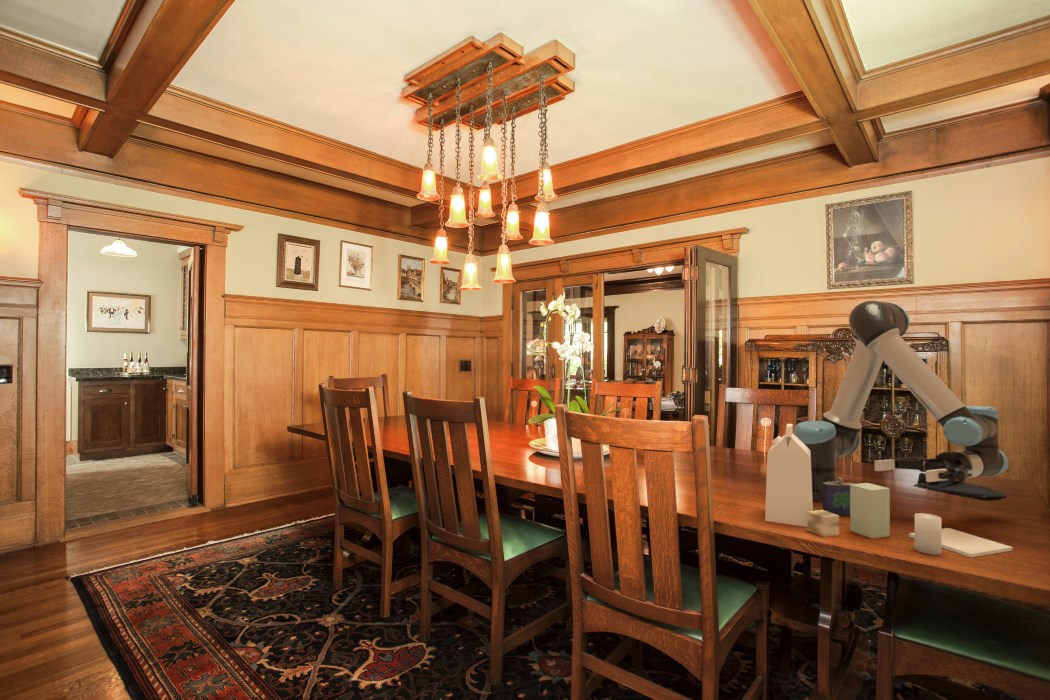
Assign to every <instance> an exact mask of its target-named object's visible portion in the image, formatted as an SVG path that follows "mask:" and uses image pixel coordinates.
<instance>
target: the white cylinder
mask: <svg viewBox="0 0 1050 700" xmlns="http://www.w3.org/2000/svg"><path fill="white" fill-rule="evenodd" d="M941 529H942V517H941V516H938V515H934V514H931V513H922V512H920V513H919V512H918V513H914V533H915V539H914V550H915V551H917V552H919V553H923V554H925V555H935V556H936V555H937V556H938V555H941V554H942V549H943V548H942V531H941Z"/></svg>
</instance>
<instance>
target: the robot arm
mask: <svg viewBox="0 0 1050 700" xmlns="http://www.w3.org/2000/svg"><path fill="white" fill-rule="evenodd" d="M910 321H911V320H910V317H909V314H908V313H907V311H906V310H905V309H904V308H903V307H902V306H901V305H898V304H896V303H892V302H889V301H888V302H887V301H878V300H867V301H863V302H860V303H859V304H857V305H856V306H854V308H853V309H852V310H851V311H850V314H849V316H848V324H849V327H850V330H851V331H852V333H853V334H854V335H853V336H852V339H853V341H854V343H855V347H854V350H853V352H852V355H851V357H850V359H849V362H848V365H847V367H846V370H845V372H844V374H843V378H842V379H841V382H840V385H839V388H838V390H837V392H836V395H835V398H834V400H833V403H832V406H831V407H830V410H829V411H826V412H823V413H822V416H821V419H820V420H809V421H808V420H807V421H802V422H799V423H797V424H796V425H795V427H794V433H793V434H794V435H795V436H796V437H797V438H798V439H799V440H800V441H802V442H803V443H804V444H805V445H806V446H807V447H808V448H809V450H810V453H811V475H812V499H813V501H816V502H823V492H822V491H823V490H822V489H823V487H822V484H823V483H825V482H828V481H829V482H832V481H834V482H835V481H837V480H838V477H837V473H836V460H837V459H842V458H846V457H849V456H850V455H852V454H854V453H855V452H856V451H857V450H858V449H859V447H860V444H861V435H860V432H861V429H862V426H863V425H862V424H861V422H860V417H862V413H863V411H864V408H865V407H866V406H865V405H866V404H867V401H868V398H869V396H870V394H871V391H872V389H873V386H874V384H875V382H876V380H877V376H878V374H879V371H880V370H881V367H882V365H883V362H884V363H885V365H886V366H887V367H888V368H889V370H891V371H892V372H893V373H894V375H895V376H897V378H898V379H899V380H900V381H901V383H902V384H903V385H904V386H905V387H906V388H907V389H908V390H909V391H910V392H911V394H912V395H913V396H914V397H915V398H916V399H917V401H918V402H919V403H920V404H921V405H922V406H923V408H925V409H926V411H927V412H928V413H929V414H930V415H931V416H932V418H934V419H935V421H936V422H937V423H938V424H939V426H941V428H942V432H943V435H944V438H945V439H946V440H947V441H948V442H949V443H951V444H953V445H955V446H960V447H963V449H962V450H961V449H960V450H953V451H952V450H951V451H944V452H943V451H942V452H939V453H938V454H937V455H936V456H935V458H933V457H930V458H923V457H921V456H920V457H888V456H887V457H884V459H878V460H874V471H875V472H883V471H884V472H885V471H890V472H893V471H894V470H896V469H900V470H917V471H919V472H920V473H925V474H926V482H934V481H943V480H958V481H960V482H964V483H965V482H966V481H967V480H968V479H972V478H981V477H995V476H997V475H998V476H999V475H1001V474H1004V473H1005V472H1006V471H1007V469H1008V468H1009V462H1010V461H1009V459H1008V457H1007V455H1006V454H1005V453H1004V452H1003V451H1002V450H1000V442H999V434H1000V433H999V421H1000V418H999V415H998V409H997V408H995V407H994V406H984V405H983V406H982V405H965V404H964V403H963V402H962V401H961V400H960V398H958V396H956V394H955V393H954V392H953V391H952V390H951V389H950V388H949V387H948V386H947V385H946V384H945V383H944V382H943V380H942V379H941V378H940V377H939V376H938V375H937V374H936V373H935V372H934V370H932V369H931V367H930V366H929V365H928V364H927V363H926V362H925V361H924V360H923V359H922V358H921V357H920V356H919V354H917V353H916V351H915V350H914V349H913V348H912V347H911V346H910V345H909V343H907V342H906V341H905V339H903V338H902V336H904V335H905V334H906V333H907V331H908V330H909V327H910V323H911V322H910ZM924 466H925V467H924ZM834 482H832V483H834Z"/></svg>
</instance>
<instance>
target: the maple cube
mask: <svg viewBox="0 0 1050 700" xmlns="http://www.w3.org/2000/svg"><path fill="white" fill-rule="evenodd" d="M807 531H808V532H811V533H814V534H815V535H818V536H819V537H820V536H821V537H823V538H825V537H832V536H833V537H834V536H840V516H839V515H836V514H833V513H830V512H828V511H825V510H823V509H817V510H816V509H815V510H813V511H808V527H807Z"/></svg>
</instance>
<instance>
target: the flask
mask: <svg viewBox="0 0 1050 700" xmlns="http://www.w3.org/2000/svg"><path fill="white" fill-rule="evenodd" d="M843 480H845V479H844V478H842V477H839V476H838V477H837V481H835V482H834V481H832V482H834V483H832V482H829V481H828V482H825V483H823V484H822V487H823V489H822V490H823V491H822V492H823V501H822V510H825V511H828V512H830V513H833V514H836V515H839V517H850V484H855V483H853V482H844V481H843Z"/></svg>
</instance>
